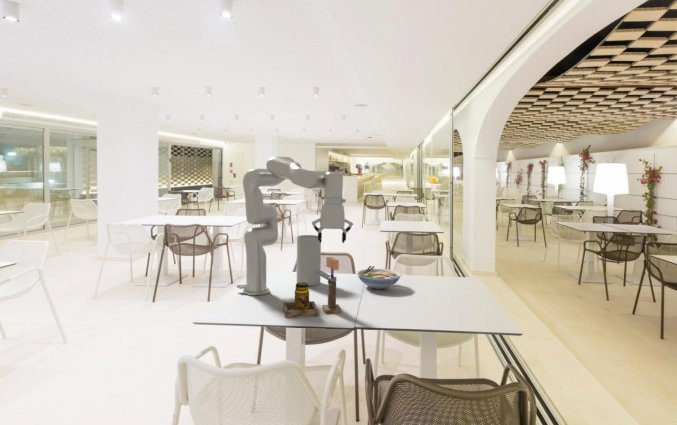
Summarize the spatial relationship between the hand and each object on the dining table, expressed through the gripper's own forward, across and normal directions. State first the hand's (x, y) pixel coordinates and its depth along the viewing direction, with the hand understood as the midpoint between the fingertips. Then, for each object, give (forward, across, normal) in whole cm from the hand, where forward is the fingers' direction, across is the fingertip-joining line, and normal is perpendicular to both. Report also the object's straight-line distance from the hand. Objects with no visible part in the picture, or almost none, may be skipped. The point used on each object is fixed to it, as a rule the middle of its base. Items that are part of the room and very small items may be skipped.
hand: (331, 242), depth 182 cm
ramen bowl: (+30, -28, -36) cm, 54 cm away
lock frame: (+30, +7, +1) cm, 30 cm away
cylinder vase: (+30, +8, -45) cm, 55 cm away
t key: (+17, +2, -6) cm, 18 cm away
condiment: (+30, +13, +2) cm, 32 cm away
